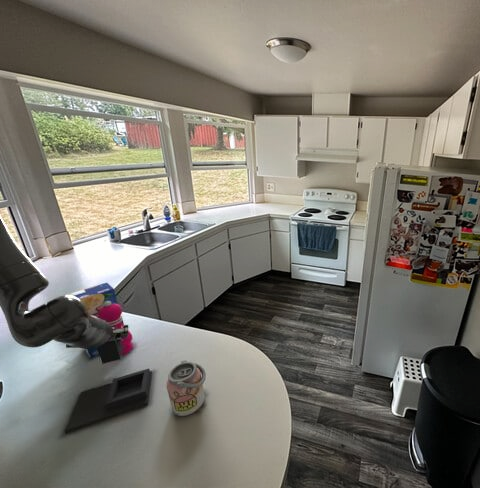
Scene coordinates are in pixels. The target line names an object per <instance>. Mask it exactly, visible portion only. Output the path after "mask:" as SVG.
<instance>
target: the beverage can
mask: <svg viewBox="0 0 480 488" xmlns="http://www.w3.org/2000/svg"><path fill="white" fill-rule="evenodd" d="M206 372H207V371H206V370H205V368H203V366H202V365H201V364H199V363H196V362H193V361H188V360H185V359H184V360H181V361H180V363H178V364H176V365H175V366H173V367H172V368H171V369H170V371H169V372H168V373H167V381H166V390H167V395H168V398H169V403H170V407H171V410H172V412H173V414H175V416H179V417H186V416H189V415H192V414H193V413H195V412H196V411H198V410H199V409H200V408H201V407H202V406H203V403H204V401H205V397H206V395H205V390H204V385H203V384H204V383H205V381H206V379H207V378H206V377H207V373H206Z"/></svg>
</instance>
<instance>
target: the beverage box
mask: <svg viewBox="0 0 480 488" xmlns="http://www.w3.org/2000/svg"><path fill="white" fill-rule="evenodd" d="M65 295H70V296H75V297H77V298H78V299H80V300H81V301H82V302H83V303H84V305H85V306H86V309H87V311H88V314H89V315H92V316H95V317H98V318H99V316H98V312H99V310H100V309H101V308H102V307H103V306H105V305H104V303H105V302H106V301H110V302H111V304H118V305H119V302H118V299H117V296H116V292H115V288H114V287H112V285H111V284H109V282H104V283H101V284H97V285H94V286H91V287H87V288H84V289H80V290H76V291H74V292H71V293H70V292H69V293H67V294H64V295H63V296H65ZM122 324H123V326H124V325H125V323H124V318H123V319H122ZM84 351H85V353H86V355H87V356H88V357H89V359H90V360H91V359H94V358H96V357H99V353H98V350H97V348H94V349H84Z"/></svg>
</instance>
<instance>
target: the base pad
mask: <svg viewBox="0 0 480 488" xmlns="http://www.w3.org/2000/svg"><path fill="white" fill-rule="evenodd" d="M152 379H153V371H152V370H150V368H146V369H141V370H139V371H136V372H131V373H129V374H125V375H122V376H119V377H115V378H113V379H112V381H111V382H109V383H106V384H102V385H99V386H95V387H92V388H89V389H85V390H82V391H80V393H79V395H78V398H77V400H76V402H75V405H74V407H73V410H72V411H71V414H70V416H69V419H68V421H67V423H66V425H65V428H64V430H63V432H64V434H69V433H71V432H74V431H77V430H81V429H83V428H85V427H88V426H92V425H95V424H97V423H100V422H103V421H106V420H108V419H113V418H114V417H117V416H120V415H123V414H126V413H129V412H131V411H135V410H137V409H140V408H143V407H146V406H148V405H149V398H150V393H151V386H152Z"/></svg>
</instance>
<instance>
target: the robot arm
mask: <svg viewBox="0 0 480 488" xmlns="http://www.w3.org/2000/svg"><path fill="white" fill-rule="evenodd" d="M49 285H50V282H49V280H48V279H47V277H46V276H45V274H44V273H43V272H42V271H41V270H40V269H39V268H38V267H37V266H36V264H34V261H32V260H31V259H30V258H29V256H27V254H26V253H25V252H24V250H23V249H22V248H21V247H20V246H19V244H18V243H17V242H16V240H15V238H14V237H13V235H12V234H11V232H10V230H9V229H8V227H7V224H6V223H5V221H4V220H3V218H2V216H1V215H0V309H1V311H2V313H3V315H4V318H5V321H6V324H7V327H8V330H9V332H10V335H11V337H12V338H13V340H14V341H15V342H16V343H17V344H19V345H20V346H22V347H23V346H24V347H26V348H40V347H42V346H45V345H47V344H48V343H50V342H52V341H55V342H56V343H61V344H65V348H66V349H82V350H85V349H94V348H97V347H99V346H101V345H103V344H104V343H105V342H106V341H114V340H117V341H122V340H123V339H124V338H126V337H128V330H129V325H128V324H124V326H123V327H121V329H116V328H112V327H111V326H110V324H109V323H107V322H106V321H104V320H102V319H100V318H98V317H95V316H92V315H89V314H88V311H87V309H86V306H85V305H84V303H83V302H82V301H81V300H80V299H78V298H77V297H75V296H70V295H67V294H64V295H65V296H64V295H60V296H57V297H55V298H52V299H50V300H49V301H46V302H45V303H42V304H41V305H39V306H37V307H34V308H32V309H31V310H30V308H29V305H30V301H32V300H33V298H35V297H36V296H37V295H39V294H41V293H42V292H43V291H45V290H46V289H47V288H48V287H49Z"/></svg>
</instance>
